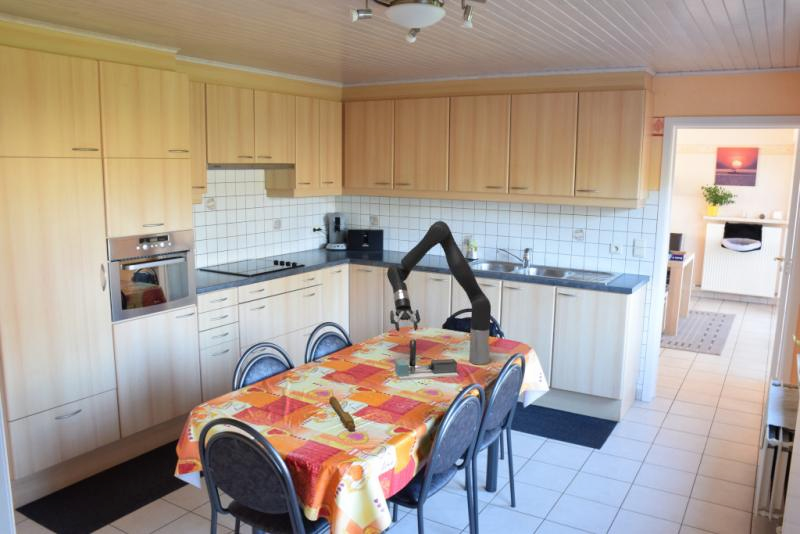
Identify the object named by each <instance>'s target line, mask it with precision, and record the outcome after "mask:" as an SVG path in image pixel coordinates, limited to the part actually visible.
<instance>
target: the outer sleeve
mask: <svg viewBox="0 0 800 534" xmlns="http://www.w3.org/2000/svg"><path fill="white" fill-rule="evenodd" d="M430 364H434V370H431V371H432V372H433V373H434V374H442V373H457V374H458V372H457V371H458V370H457V369H458V367H457V366H458V362H457V361H456V360H455V359H454V358H452V359H451V358H447V359H431V361H430Z"/></svg>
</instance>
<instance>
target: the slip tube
mask: <svg viewBox="0 0 800 534" xmlns="http://www.w3.org/2000/svg"><path fill="white" fill-rule="evenodd" d="M416 353H417V340H415V339H411V340H410V341H409V362H408V364H409V371H410V372H415V371H419V370H434V364H431V363H428V364H426V363H425V364H416V361H417V359H416V356H417V354H416Z"/></svg>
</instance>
